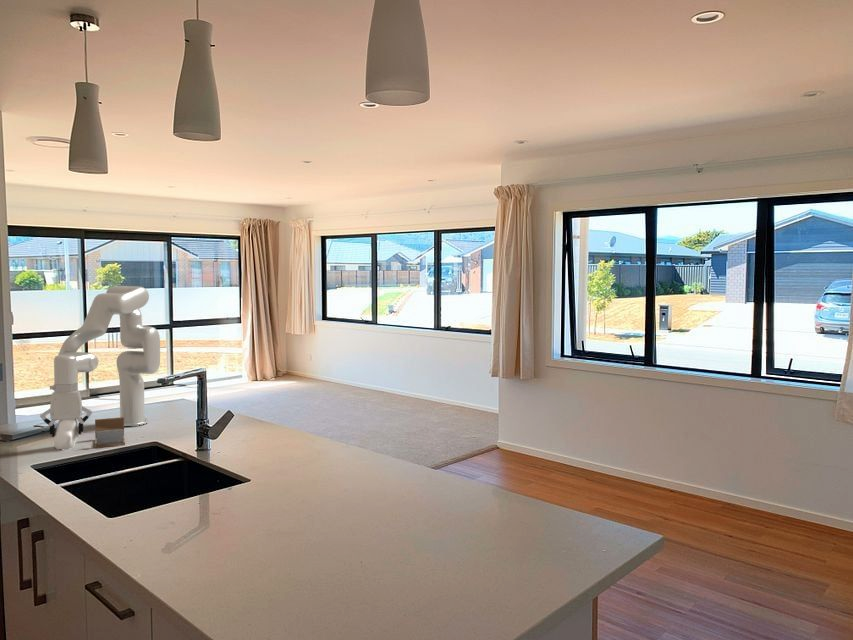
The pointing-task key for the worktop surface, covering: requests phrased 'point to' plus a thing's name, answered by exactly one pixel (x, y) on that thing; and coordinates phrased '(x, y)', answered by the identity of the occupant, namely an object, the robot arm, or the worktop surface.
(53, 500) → the worktop surface
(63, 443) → the figurine
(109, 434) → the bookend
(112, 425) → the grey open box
